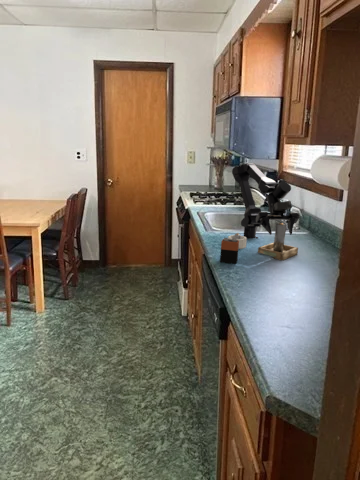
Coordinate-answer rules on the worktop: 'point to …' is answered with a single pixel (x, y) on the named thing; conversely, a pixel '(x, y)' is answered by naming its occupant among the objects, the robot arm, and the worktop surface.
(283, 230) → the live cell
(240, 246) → the cup
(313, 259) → the worktop surface
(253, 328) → the worktop surface
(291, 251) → the wooden tray
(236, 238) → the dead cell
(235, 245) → the battery
